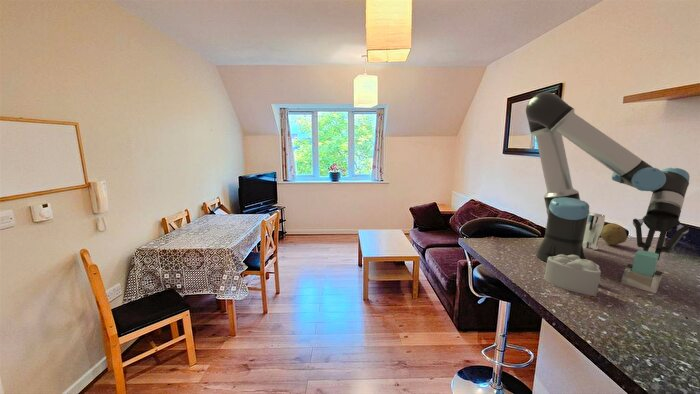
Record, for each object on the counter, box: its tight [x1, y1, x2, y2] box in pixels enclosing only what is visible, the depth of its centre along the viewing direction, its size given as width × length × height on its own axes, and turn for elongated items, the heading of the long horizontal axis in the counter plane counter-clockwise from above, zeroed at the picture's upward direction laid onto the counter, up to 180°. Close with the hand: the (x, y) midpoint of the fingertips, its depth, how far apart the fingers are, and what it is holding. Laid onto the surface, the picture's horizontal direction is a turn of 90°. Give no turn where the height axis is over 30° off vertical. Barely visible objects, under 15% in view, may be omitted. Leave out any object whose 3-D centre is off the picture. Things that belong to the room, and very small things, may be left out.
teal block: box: [632, 249, 659, 277], centre depth 87 cm, size 6×4×10 cm
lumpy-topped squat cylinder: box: [543, 254, 602, 296], centre depth 89 cm, size 10×13×9 cm
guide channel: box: [620, 263, 663, 294], centre depth 89 cm, size 16×10×6 cm, turn 128°
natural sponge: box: [600, 222, 628, 246], centre depth 127 cm, size 9×9×10 cm
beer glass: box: [583, 212, 606, 251], centre depth 122 cm, size 7×7×15 cm
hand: (647, 267), depth 89 cm, fingers closed
